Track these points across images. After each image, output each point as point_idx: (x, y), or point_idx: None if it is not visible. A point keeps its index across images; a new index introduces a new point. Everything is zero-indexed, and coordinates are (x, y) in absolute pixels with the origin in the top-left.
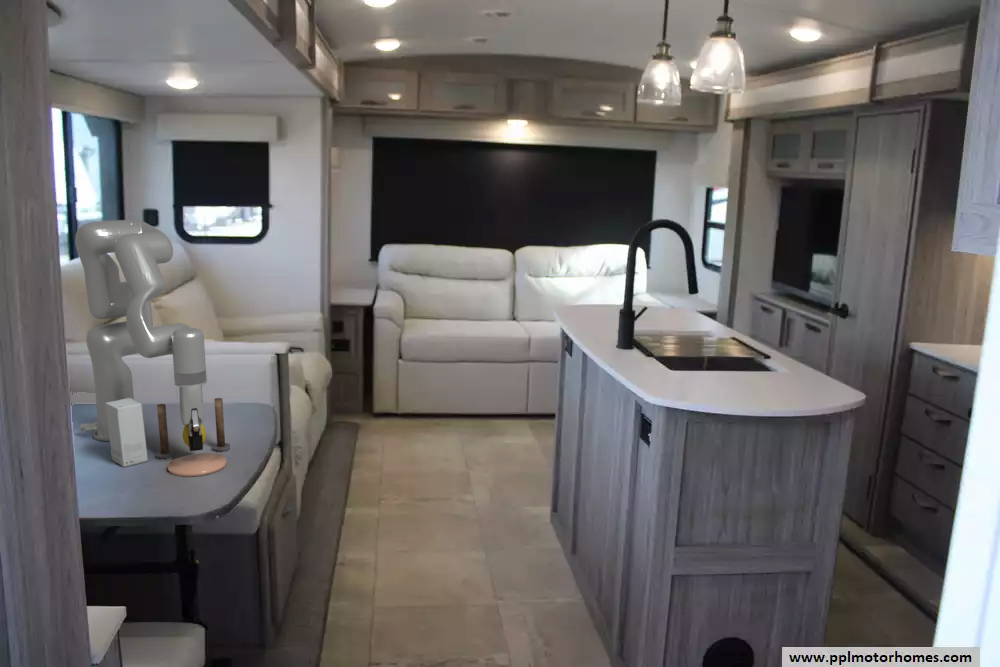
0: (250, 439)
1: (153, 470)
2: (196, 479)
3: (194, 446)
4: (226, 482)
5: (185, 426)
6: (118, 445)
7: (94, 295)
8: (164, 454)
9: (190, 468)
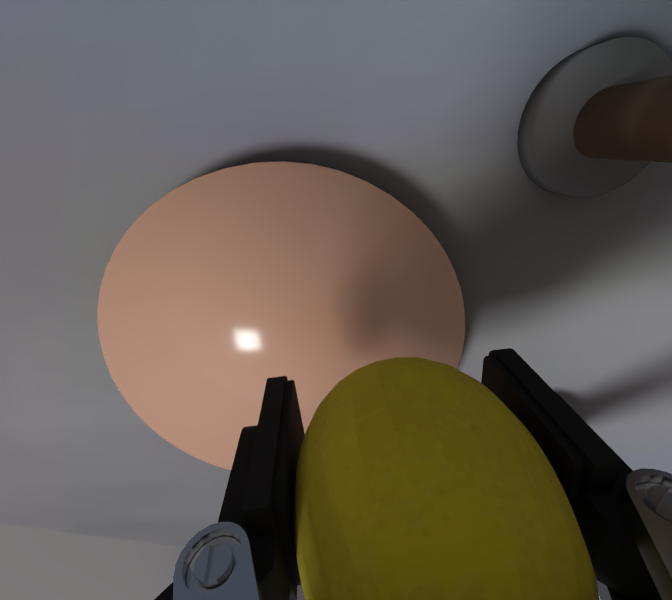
0: None
1: (291, 37)
2: (69, 344)
3: (242, 443)
4: (25, 468)
5: (450, 586)
6: None
7: None
8: (567, 121)
9: (186, 322)
